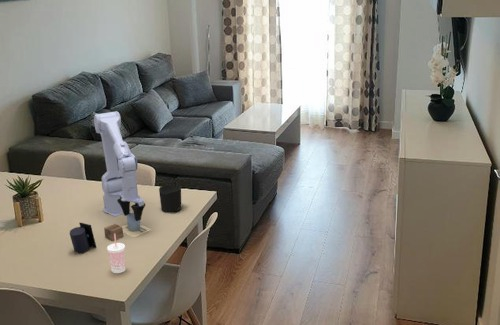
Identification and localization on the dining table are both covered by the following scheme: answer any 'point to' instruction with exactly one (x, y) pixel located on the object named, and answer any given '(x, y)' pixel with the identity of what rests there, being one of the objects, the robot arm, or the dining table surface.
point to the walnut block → (111, 230)
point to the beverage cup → (117, 256)
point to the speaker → (82, 238)
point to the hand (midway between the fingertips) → (132, 217)
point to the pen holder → (170, 198)
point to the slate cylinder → (133, 223)
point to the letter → (135, 233)
